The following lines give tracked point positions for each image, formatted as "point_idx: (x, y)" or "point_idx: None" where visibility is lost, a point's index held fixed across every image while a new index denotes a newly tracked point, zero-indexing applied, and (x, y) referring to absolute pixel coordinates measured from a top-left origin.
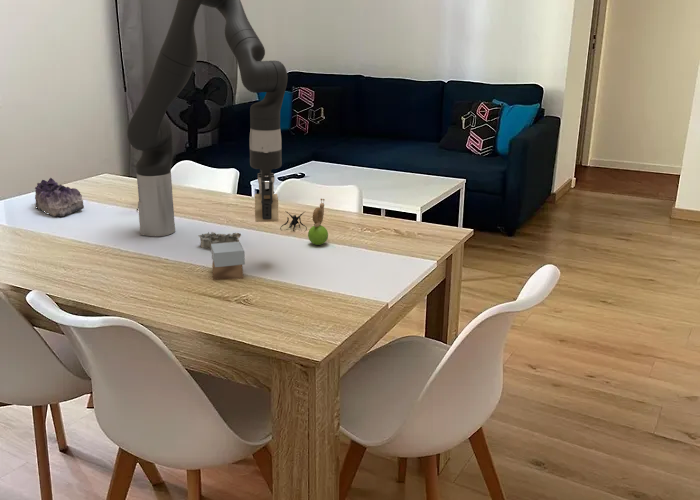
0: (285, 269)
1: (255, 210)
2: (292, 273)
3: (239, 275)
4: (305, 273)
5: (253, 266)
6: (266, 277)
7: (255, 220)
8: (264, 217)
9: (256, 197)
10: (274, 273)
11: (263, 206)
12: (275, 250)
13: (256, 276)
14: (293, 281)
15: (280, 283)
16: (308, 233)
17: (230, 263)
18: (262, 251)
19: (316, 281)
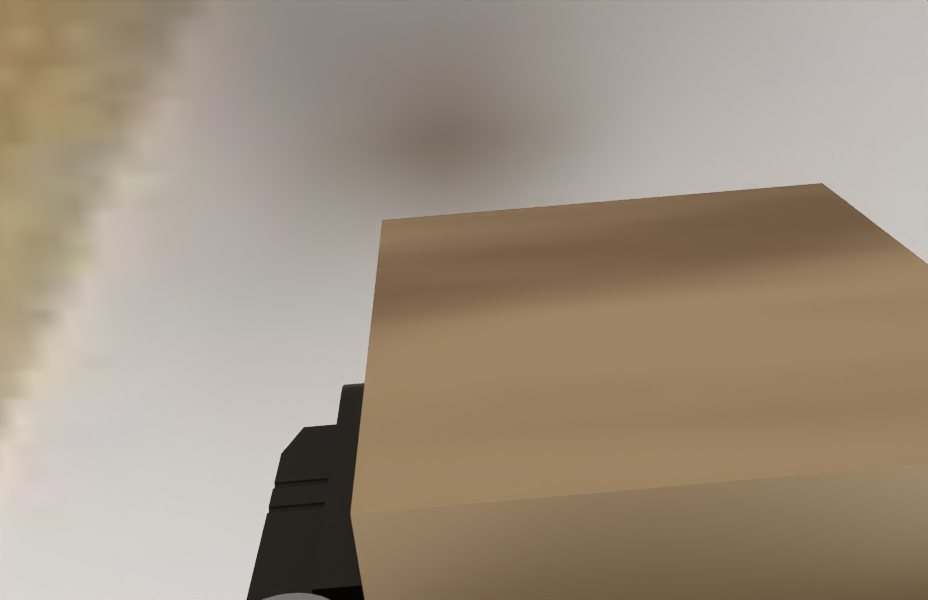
0: (360, 310)
1: (375, 332)
2: (264, 366)
3: None
4: (269, 456)
5: (446, 15)
6: (146, 159)
7: (423, 223)
8: (297, 437)
9: (689, 525)
10: (255, 224)
11: (325, 578)
12: (883, 206)
13: (162, 63)
14: (78, 378)
15: (14, 283)
16: None
17: None
18: (886, 82)
19: (102, 527)
